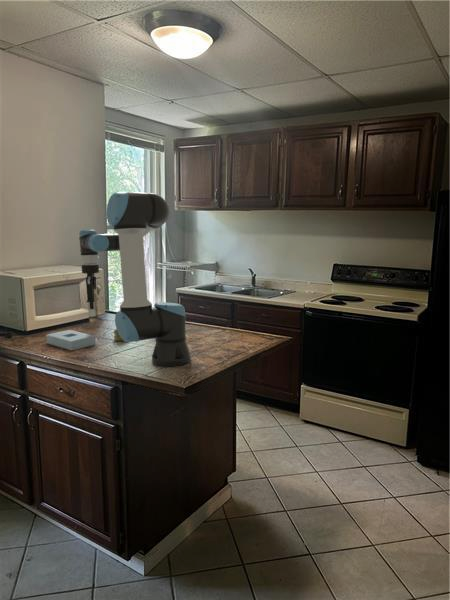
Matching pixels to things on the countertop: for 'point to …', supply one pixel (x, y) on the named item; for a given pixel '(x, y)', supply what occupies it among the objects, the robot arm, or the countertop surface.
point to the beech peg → (95, 318)
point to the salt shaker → (117, 336)
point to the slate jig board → (70, 339)
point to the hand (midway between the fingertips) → (93, 314)
